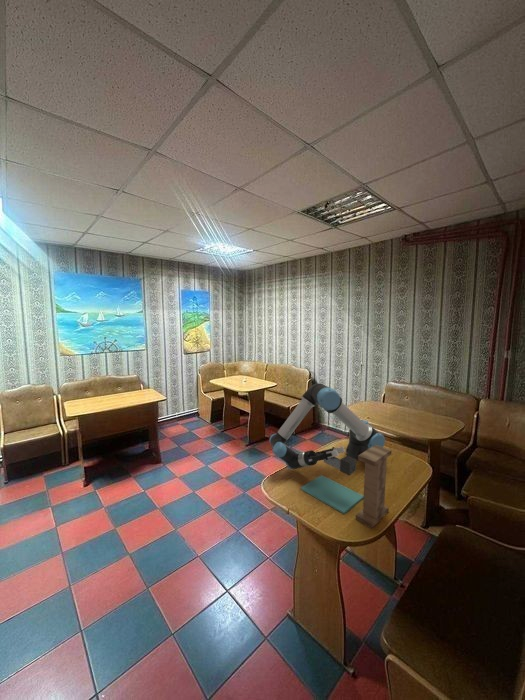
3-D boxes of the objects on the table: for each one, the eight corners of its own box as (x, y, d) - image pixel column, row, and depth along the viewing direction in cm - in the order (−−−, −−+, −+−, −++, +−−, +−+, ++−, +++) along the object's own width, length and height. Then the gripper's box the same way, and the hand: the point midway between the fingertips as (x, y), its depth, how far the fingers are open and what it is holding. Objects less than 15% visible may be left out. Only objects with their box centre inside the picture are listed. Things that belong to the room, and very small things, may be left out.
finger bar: (329, 458, 150) (329, 448, 149) (355, 470, 139) (356, 459, 138) (322, 462, 146) (323, 451, 145) (349, 475, 135) (349, 463, 134)
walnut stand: (372, 503, 139) (375, 444, 135) (388, 511, 133) (391, 450, 130) (355, 519, 128) (358, 455, 125) (371, 528, 122) (374, 461, 119)
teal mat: (321, 476, 162) (321, 475, 162) (363, 497, 143) (364, 496, 143) (300, 489, 150) (300, 487, 150) (344, 514, 131) (344, 512, 131)
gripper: (320, 459, 162) (353, 452, 146) (299, 471, 150) (333, 464, 134) (315, 446, 164) (347, 438, 148) (294, 457, 152) (326, 448, 136)
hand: (340, 450), depth 141 cm, fingers open, 5 cm apart
